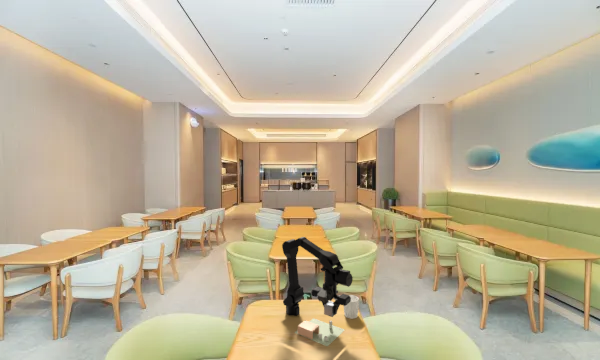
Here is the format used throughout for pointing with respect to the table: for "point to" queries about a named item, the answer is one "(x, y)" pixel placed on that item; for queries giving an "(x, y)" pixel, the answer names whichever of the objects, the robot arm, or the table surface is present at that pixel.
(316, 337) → the board
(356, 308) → the white cup
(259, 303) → the table surface
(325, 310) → the gray metal block
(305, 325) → the cover
